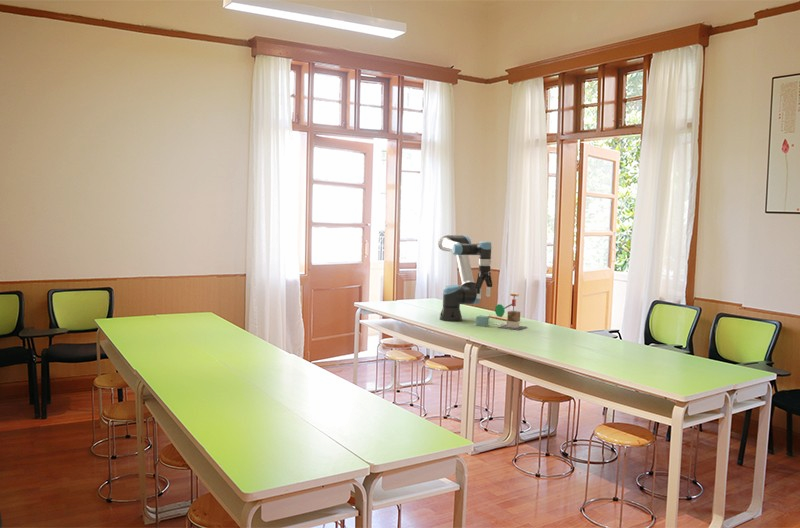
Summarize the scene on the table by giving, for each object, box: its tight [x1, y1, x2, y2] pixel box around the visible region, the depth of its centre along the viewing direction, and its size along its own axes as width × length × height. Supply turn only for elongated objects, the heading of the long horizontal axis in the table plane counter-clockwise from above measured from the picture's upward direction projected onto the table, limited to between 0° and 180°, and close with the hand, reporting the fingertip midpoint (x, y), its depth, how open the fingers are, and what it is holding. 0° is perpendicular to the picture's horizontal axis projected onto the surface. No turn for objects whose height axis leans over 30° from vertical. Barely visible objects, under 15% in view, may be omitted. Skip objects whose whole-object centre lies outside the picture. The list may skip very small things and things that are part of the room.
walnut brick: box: [506, 310, 521, 322], centre depth 427 cm, size 6×5×6 cm
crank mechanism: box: [488, 292, 520, 322], centre depth 458 cm, size 25×7×19 cm, turn 36°
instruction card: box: [493, 322, 507, 326], centre depth 438 cm, size 10×7×1 cm
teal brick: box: [475, 315, 490, 327], centre depth 433 cm, size 6×6×6 cm
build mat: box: [498, 320, 528, 331], centre depth 427 cm, size 14×14×4 cm
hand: (483, 297), depth 432 cm, fingers open, 13 cm apart
